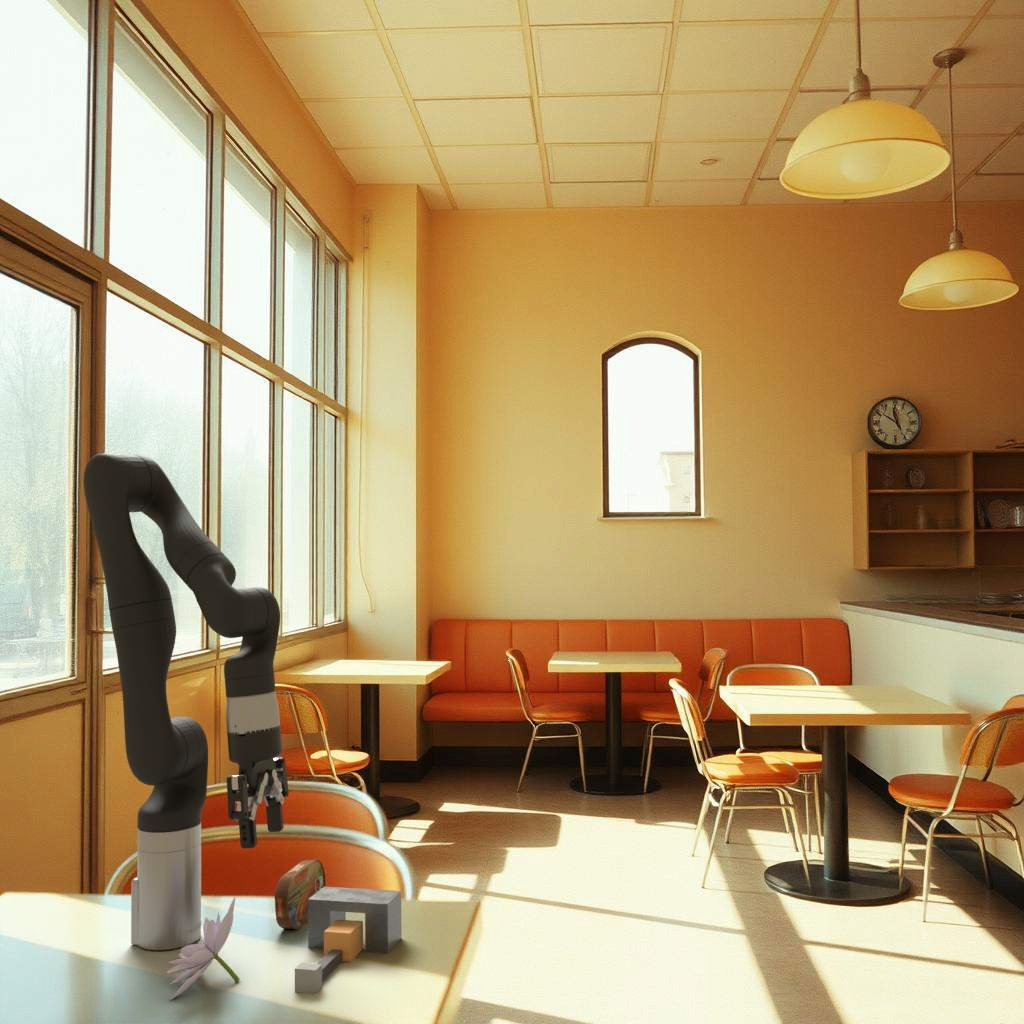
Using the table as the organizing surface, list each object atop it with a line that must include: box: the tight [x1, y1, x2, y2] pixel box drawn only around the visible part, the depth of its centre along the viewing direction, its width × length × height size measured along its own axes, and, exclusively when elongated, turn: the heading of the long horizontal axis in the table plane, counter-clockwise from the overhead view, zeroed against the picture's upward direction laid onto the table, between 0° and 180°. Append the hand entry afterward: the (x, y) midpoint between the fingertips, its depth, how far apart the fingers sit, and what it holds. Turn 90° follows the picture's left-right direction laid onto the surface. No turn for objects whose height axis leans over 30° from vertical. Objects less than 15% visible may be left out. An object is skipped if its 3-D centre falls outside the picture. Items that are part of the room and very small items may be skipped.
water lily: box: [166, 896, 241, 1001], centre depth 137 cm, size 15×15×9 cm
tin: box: [274, 859, 327, 930], centre depth 161 cm, size 15×3×8 cm, turn 168°
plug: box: [294, 919, 364, 994], centre depth 141 cm, size 4×16×4 cm, turn 167°
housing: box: [307, 886, 402, 954], centre depth 151 cm, size 12×6×7 cm, turn 77°
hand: (262, 839), depth 144 cm, fingers open, 8 cm apart
